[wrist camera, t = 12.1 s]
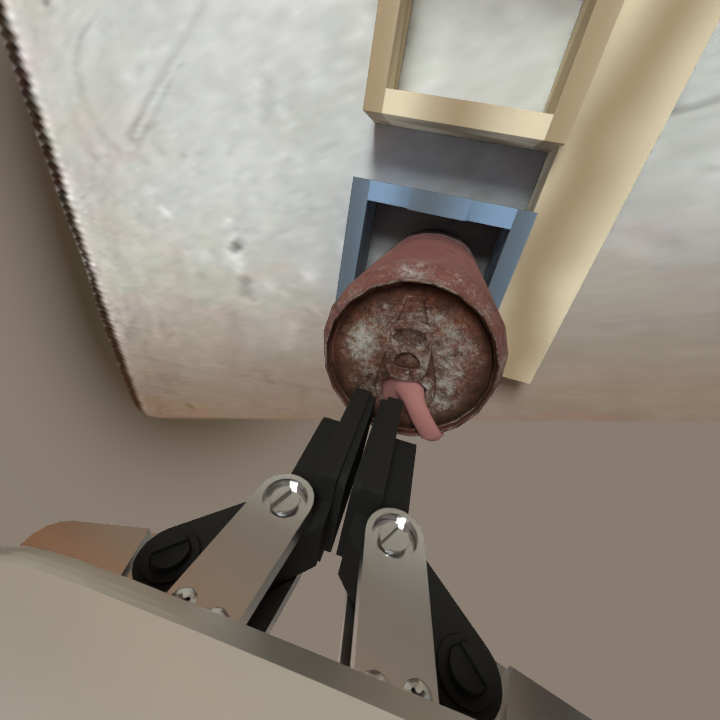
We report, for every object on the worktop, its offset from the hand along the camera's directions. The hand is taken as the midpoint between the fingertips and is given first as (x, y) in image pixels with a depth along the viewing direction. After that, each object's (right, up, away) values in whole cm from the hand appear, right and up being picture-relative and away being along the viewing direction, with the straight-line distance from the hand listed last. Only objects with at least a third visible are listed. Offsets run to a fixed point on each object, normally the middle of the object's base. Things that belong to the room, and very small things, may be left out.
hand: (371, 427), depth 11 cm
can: (+5, +8, +11) cm, 14 cm away
